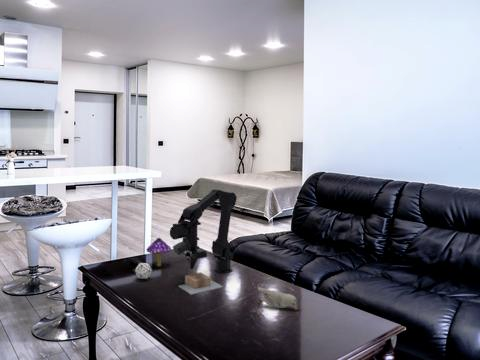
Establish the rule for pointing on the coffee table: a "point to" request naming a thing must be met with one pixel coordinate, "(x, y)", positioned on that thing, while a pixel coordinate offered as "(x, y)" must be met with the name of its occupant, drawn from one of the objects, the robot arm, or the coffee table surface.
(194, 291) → the rubber mat
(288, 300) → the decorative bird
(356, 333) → the coffee table surface
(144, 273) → the game die
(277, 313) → the coffee table surface
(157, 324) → the coffee table surface
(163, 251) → the decorative mushroom
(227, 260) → the robot arm
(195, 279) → the brown wooden block
